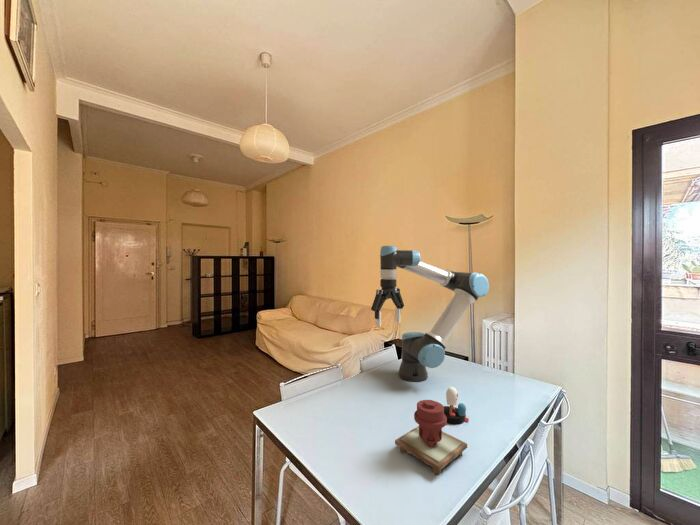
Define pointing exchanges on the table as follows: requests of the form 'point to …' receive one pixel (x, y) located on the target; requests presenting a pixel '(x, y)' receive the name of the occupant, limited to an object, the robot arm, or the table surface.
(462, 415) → the figurine
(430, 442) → the mechanical component
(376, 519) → the table surface
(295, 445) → the table surface
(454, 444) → the stand
